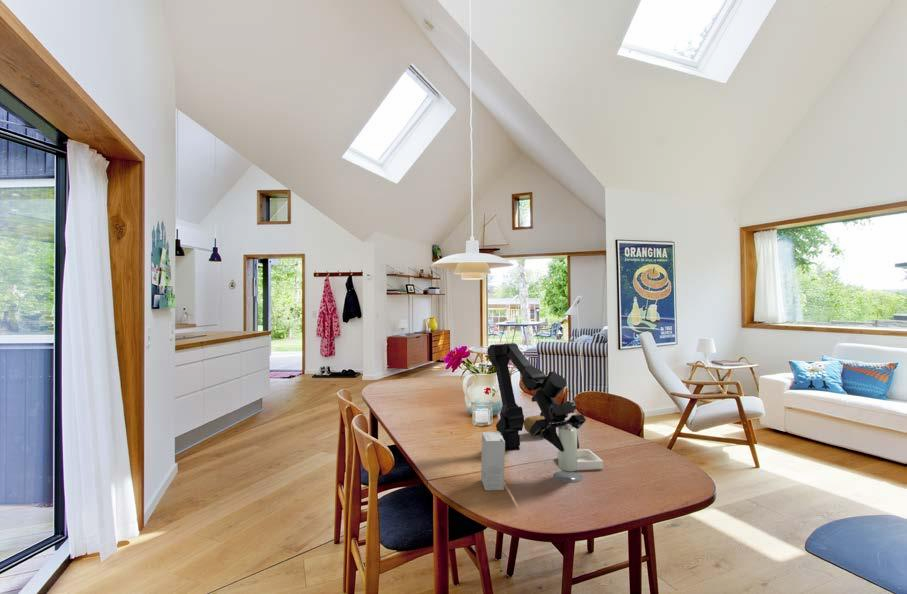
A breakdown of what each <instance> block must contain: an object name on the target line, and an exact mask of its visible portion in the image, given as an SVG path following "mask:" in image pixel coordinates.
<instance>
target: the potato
mask: <svg viewBox="0 0 907 594" xmlns="http://www.w3.org/2000/svg"><path fill="white" fill-rule="evenodd" d="M542 419H545V418H544V416H542V417H541V415H540V414H538V415H530V416H527V417H524V424H523V428H524V430H525V431H526V432H527V433H528V434H531V433H530V428H531V426H532V425H533V424H534V423H535V421H536V420H542ZM541 435H542V433H541V434H540V436H541ZM540 436H539V437H540Z"/></svg>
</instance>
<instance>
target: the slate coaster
mask: <svg viewBox="0 0 907 594" xmlns="http://www.w3.org/2000/svg"><path fill="white" fill-rule="evenodd" d="M552 477H553V479H555V480H557V481H558V482H562V483H566V484H575V483H579V482H582V481H583V479H584V478H583V476H582V475H581V474H580V473H577V472H574V471H564V470H561V471H556V472H554V473H553V474H552Z"/></svg>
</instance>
